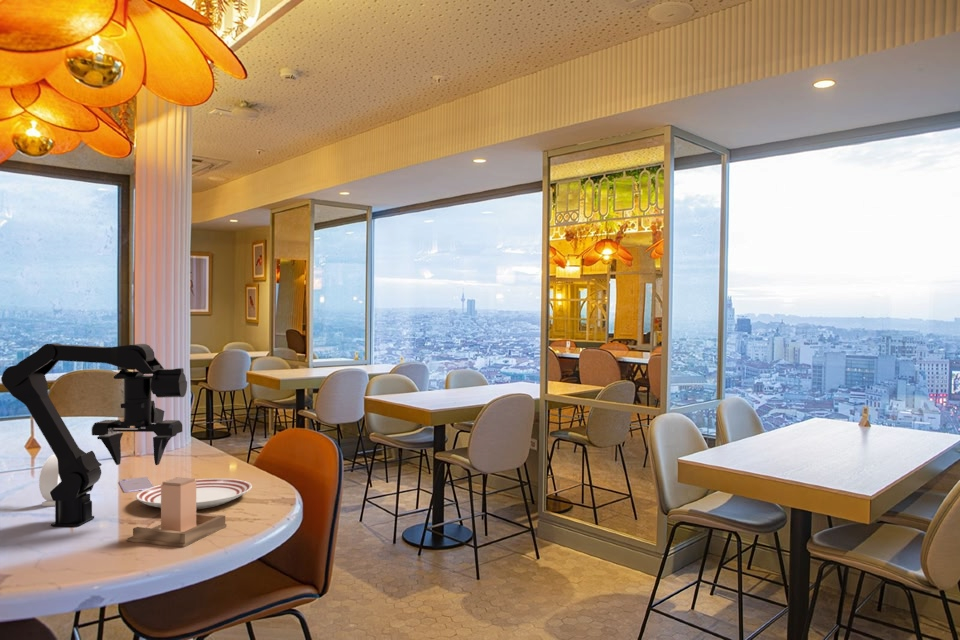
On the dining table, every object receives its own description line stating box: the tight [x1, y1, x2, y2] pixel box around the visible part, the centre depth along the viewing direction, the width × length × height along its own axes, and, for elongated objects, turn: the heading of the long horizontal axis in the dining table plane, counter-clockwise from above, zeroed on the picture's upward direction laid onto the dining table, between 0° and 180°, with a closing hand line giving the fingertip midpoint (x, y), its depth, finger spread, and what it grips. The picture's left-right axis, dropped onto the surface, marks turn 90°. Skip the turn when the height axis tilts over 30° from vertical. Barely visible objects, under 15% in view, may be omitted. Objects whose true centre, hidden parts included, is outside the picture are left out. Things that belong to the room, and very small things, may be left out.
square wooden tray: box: [127, 512, 227, 548], centre depth 145 cm, size 14×14×3 cm
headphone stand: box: [38, 453, 61, 507], centre depth 168 cm, size 5×6×12 cm
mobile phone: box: [118, 476, 155, 494], centre depth 186 cm, size 8×1×15 cm
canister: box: [160, 476, 197, 532], centre depth 145 cm, size 5×5×11 cm
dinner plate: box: [135, 478, 253, 510], centre depth 171 cm, size 28×27×3 cm
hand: (137, 464), depth 154 cm, fingers open, 9 cm apart
